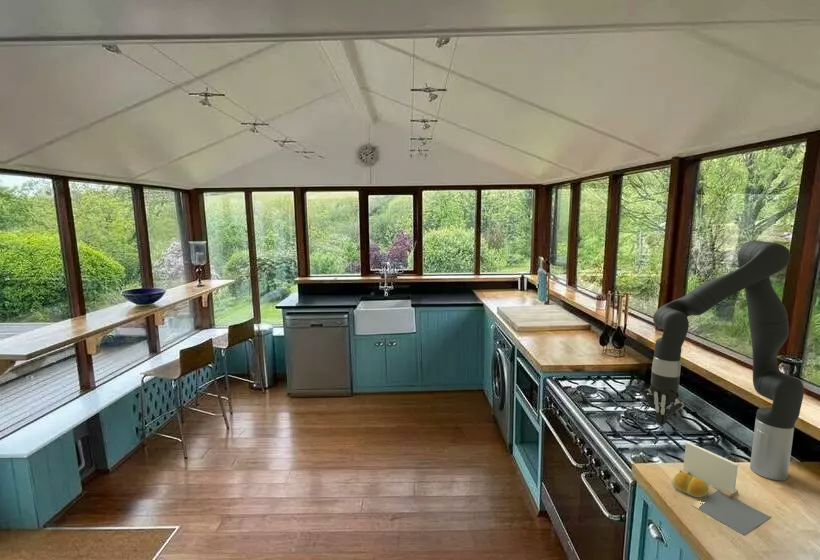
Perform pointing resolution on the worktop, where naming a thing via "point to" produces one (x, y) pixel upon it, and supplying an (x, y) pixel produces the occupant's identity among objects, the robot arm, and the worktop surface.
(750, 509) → the mat
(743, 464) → the worktop surface
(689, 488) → the bread roll
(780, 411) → the robot arm
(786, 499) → the worktop surface
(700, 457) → the screen
